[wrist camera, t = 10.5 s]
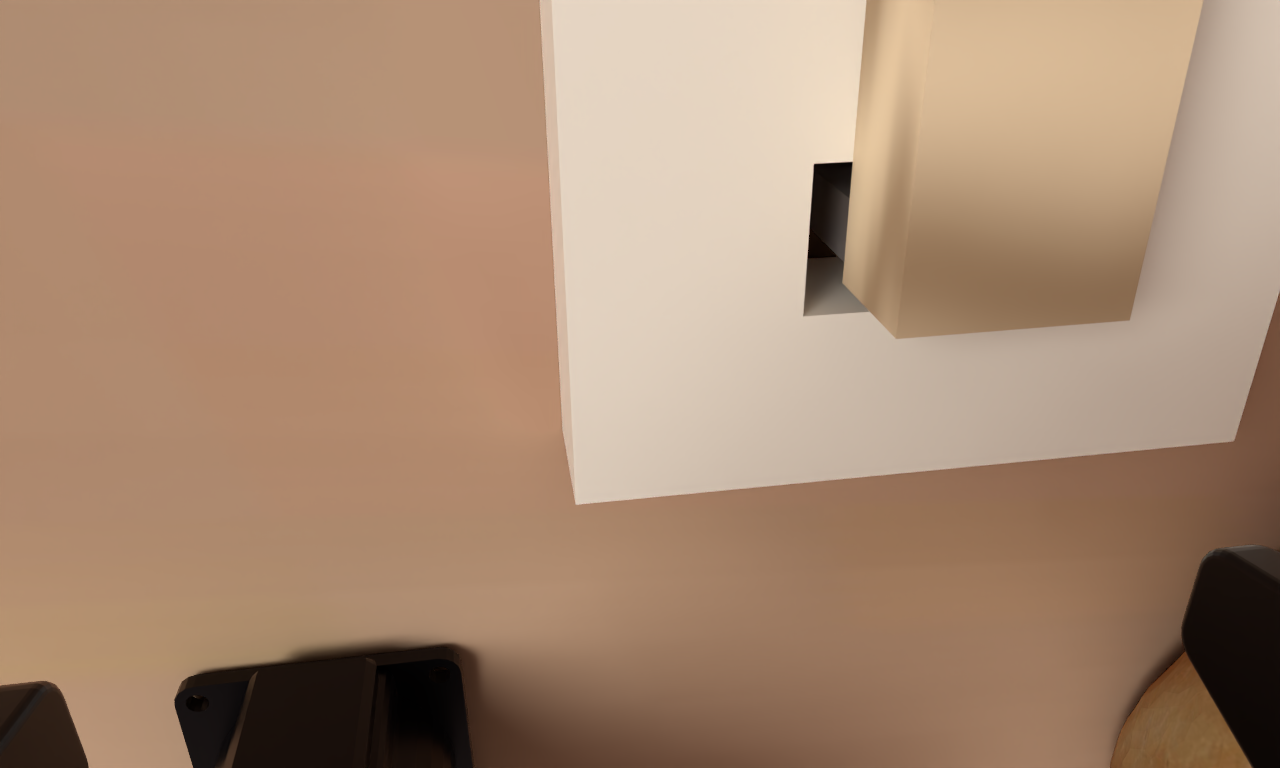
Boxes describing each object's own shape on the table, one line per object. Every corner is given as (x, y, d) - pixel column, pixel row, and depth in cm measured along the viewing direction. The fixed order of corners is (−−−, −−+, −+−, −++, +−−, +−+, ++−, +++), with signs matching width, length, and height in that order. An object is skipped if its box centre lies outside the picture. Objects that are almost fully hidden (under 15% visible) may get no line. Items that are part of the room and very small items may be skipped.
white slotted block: (1146, 379, 23) (1234, 441, 21) (562, 429, 22) (575, 504, 19) (1263, -85, 19) (1392, -81, 16) (535, -73, 17) (548, -66, 14)
